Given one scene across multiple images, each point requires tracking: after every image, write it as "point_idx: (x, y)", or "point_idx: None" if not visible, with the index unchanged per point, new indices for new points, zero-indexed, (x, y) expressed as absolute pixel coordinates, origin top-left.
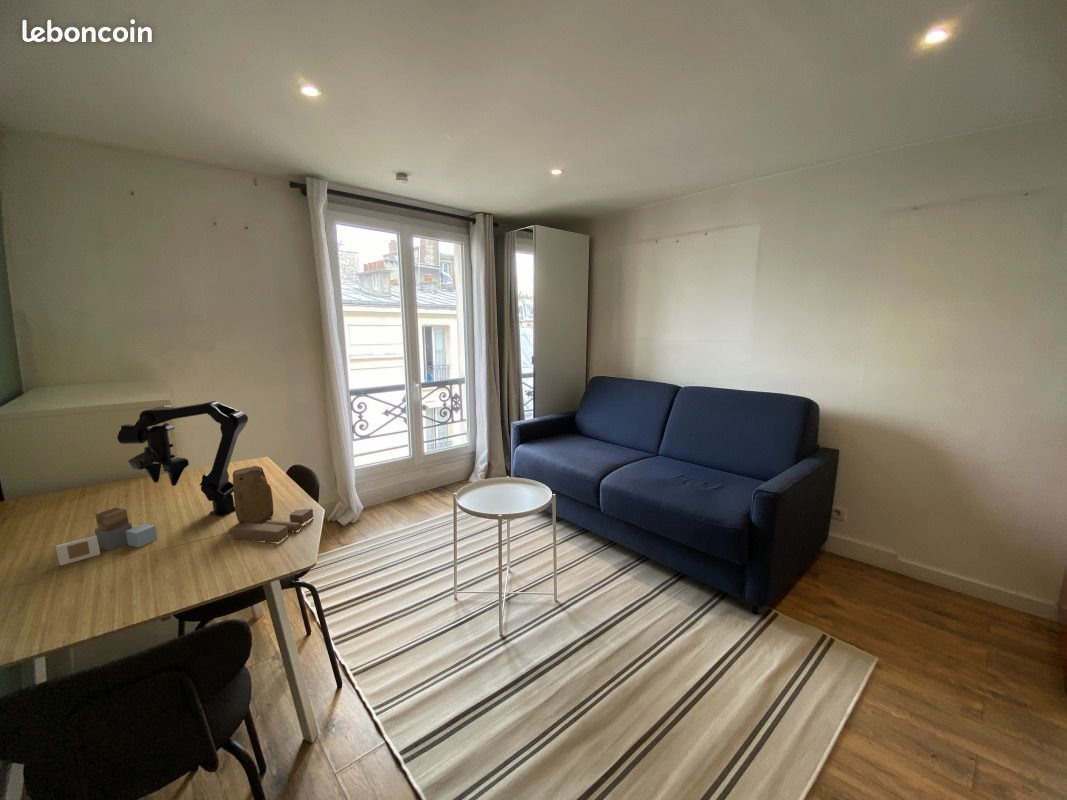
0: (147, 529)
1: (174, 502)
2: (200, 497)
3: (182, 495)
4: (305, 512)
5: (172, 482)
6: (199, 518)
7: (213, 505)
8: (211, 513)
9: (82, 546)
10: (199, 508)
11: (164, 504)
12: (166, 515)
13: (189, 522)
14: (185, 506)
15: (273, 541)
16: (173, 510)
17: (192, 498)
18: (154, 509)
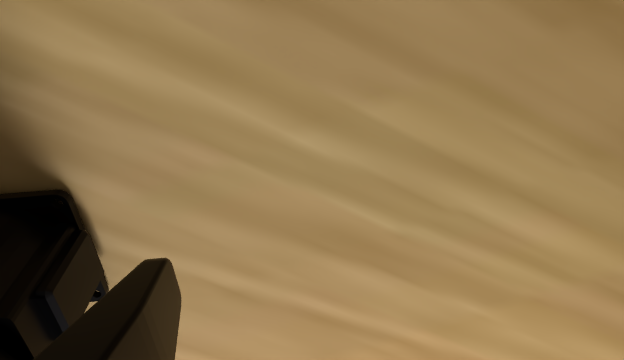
0: None
1: (555, 197)
2: (449, 301)
3: (611, 276)
4: None
5: (82, 318)
6: (32, 112)
7: (43, 253)
8: (39, 193)
9: None
10: (253, 210)
11: (601, 150)
12: (361, 34)
13: (4, 32)
14: (395, 190)
15: None
16: (410, 115)
17: (488, 276)
18: (595, 64)
